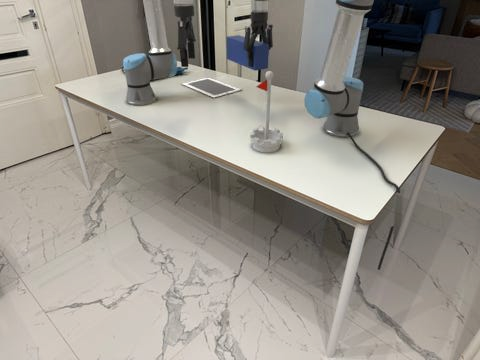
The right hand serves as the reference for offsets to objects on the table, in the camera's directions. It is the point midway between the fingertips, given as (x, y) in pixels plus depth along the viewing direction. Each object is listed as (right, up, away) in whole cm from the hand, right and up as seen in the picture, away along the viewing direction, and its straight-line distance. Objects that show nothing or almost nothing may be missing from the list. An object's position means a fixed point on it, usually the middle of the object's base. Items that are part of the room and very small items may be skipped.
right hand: (257, 64), depth 159 cm
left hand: (-30, -5, -19) cm, 36 cm away
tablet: (-26, +1, +42) cm, 49 cm away
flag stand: (+2, -40, -21) cm, 46 cm away
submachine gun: (-61, +16, +65) cm, 90 cm away
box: (-5, +3, +7) cm, 10 cm away
